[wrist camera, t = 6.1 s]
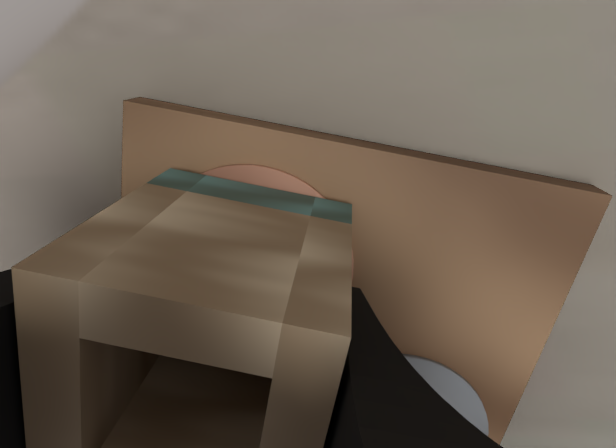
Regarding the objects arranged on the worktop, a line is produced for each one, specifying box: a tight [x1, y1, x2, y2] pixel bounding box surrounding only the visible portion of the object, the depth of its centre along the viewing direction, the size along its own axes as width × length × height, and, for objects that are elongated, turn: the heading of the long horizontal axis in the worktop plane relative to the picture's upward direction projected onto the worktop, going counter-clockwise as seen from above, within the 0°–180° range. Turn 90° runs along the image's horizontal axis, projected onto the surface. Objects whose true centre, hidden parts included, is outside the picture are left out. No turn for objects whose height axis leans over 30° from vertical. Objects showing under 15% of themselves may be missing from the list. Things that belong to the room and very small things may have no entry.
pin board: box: [121, 97, 612, 445], centre depth 13 cm, size 13×13×4 cm
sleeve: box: [11, 168, 352, 448], centre depth 10 cm, size 5×5×6 cm
